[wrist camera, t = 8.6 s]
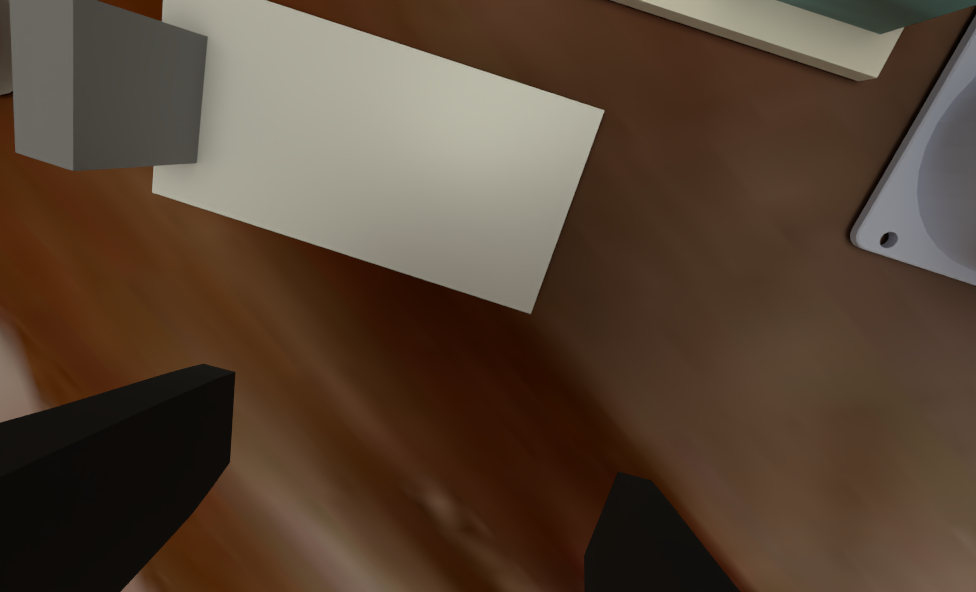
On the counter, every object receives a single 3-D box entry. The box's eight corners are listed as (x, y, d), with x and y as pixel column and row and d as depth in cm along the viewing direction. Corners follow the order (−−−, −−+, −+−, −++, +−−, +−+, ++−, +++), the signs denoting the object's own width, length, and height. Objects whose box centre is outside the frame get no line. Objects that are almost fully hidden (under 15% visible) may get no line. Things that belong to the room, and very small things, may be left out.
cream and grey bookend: (601, 111, 15) (635, 96, 10) (530, 306, 17) (529, 374, 12) (183, -24, 15) (5, -109, 10) (169, 190, 17) (17, 209, 12)
